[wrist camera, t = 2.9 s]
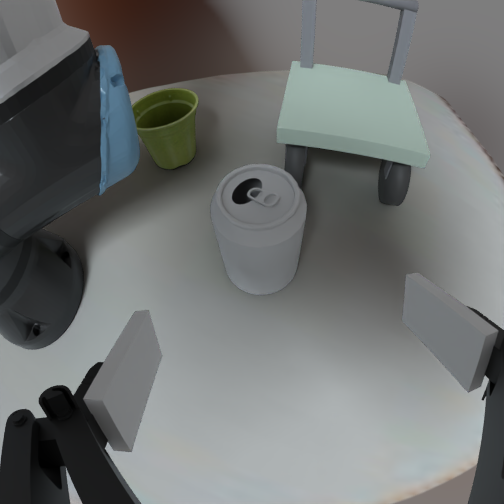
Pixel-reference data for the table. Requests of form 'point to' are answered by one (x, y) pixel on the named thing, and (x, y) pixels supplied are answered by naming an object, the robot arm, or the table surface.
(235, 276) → the can
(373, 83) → the trolley
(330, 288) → the table surface
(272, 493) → the table surface
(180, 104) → the plant pot
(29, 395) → the table surface
